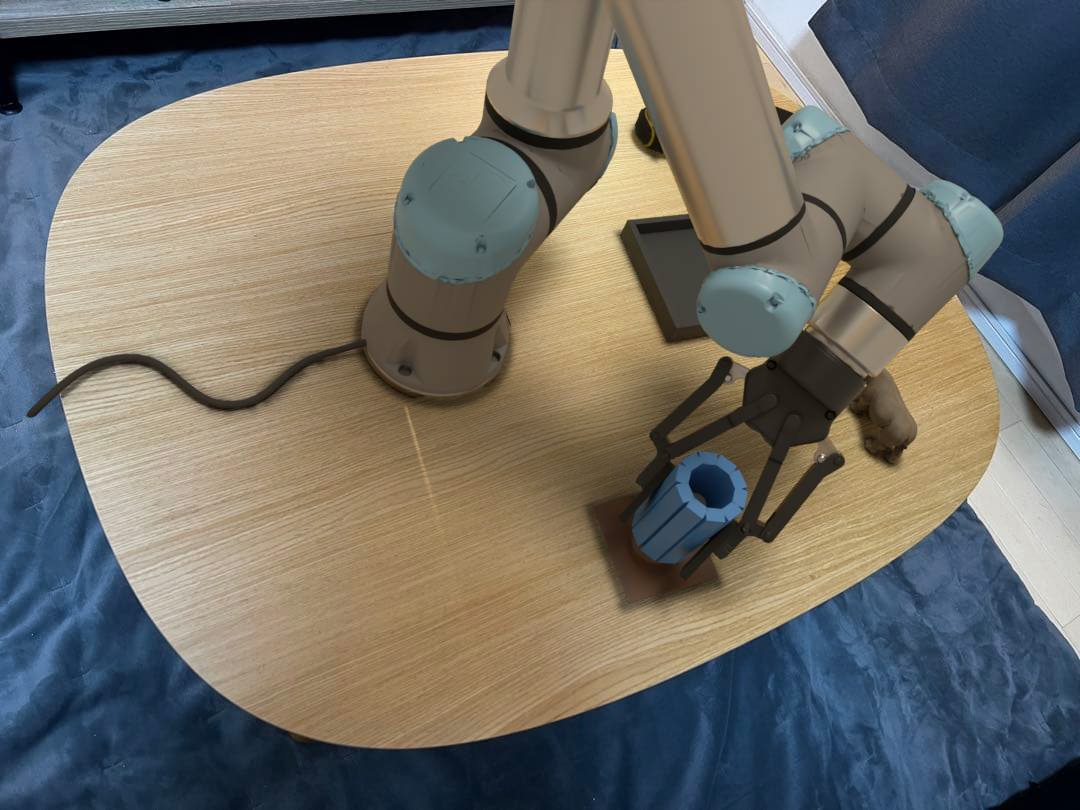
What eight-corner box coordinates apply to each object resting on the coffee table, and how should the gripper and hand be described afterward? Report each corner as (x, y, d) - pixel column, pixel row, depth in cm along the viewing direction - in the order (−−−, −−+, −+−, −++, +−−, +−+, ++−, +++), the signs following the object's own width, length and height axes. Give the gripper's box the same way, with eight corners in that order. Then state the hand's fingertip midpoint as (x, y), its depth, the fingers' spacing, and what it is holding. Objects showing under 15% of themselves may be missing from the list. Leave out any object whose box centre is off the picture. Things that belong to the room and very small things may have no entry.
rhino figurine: (857, 360, 102) (886, 332, 97) (901, 463, 96) (934, 439, 91) (828, 361, 101) (856, 334, 96) (871, 466, 95) (903, 442, 90)
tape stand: (625, 606, 80) (667, 569, 71) (589, 509, 84) (625, 463, 75) (714, 580, 84) (766, 542, 74) (676, 489, 88) (721, 442, 78)
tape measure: (688, 153, 113) (700, 132, 110) (647, 163, 110) (658, 142, 107) (663, 117, 115) (673, 95, 112) (621, 125, 112) (631, 103, 109)
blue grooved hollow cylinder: (647, 571, 78) (694, 530, 69) (622, 506, 81) (664, 458, 72) (705, 555, 81) (759, 513, 71) (680, 492, 83) (728, 444, 74)
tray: (667, 342, 97) (676, 328, 94) (619, 234, 103) (627, 219, 100) (779, 323, 102) (790, 310, 100) (727, 223, 108) (737, 208, 106)
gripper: (921, 426, 73) (738, 609, 78) (747, 280, 76) (583, 466, 82) (936, 436, 66) (733, 636, 71) (743, 274, 69) (563, 478, 74)
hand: (653, 545), depth 76 cm, fingers closed on blue grooved hollow cylinder, 7 cm apart
